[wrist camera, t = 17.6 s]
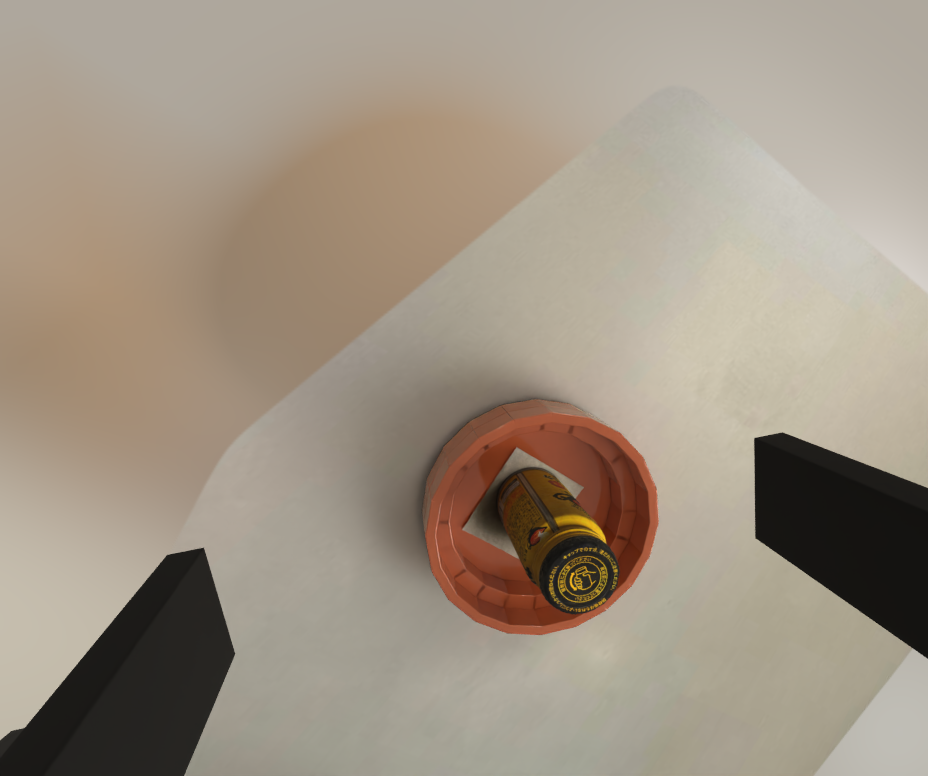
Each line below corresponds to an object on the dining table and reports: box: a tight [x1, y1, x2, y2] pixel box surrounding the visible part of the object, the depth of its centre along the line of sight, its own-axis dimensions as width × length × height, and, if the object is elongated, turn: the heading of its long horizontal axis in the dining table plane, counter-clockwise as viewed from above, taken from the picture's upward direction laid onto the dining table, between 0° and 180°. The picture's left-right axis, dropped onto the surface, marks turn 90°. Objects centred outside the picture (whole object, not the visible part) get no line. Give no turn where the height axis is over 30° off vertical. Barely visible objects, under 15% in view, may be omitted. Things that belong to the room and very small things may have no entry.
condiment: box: [462, 447, 620, 615], centre depth 37 cm, size 7×8×12 cm
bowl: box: [422, 399, 659, 635], centre depth 41 cm, size 19×19×5 cm
